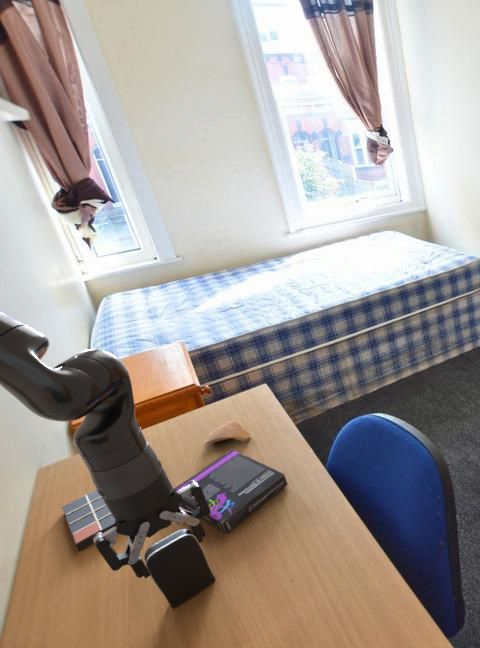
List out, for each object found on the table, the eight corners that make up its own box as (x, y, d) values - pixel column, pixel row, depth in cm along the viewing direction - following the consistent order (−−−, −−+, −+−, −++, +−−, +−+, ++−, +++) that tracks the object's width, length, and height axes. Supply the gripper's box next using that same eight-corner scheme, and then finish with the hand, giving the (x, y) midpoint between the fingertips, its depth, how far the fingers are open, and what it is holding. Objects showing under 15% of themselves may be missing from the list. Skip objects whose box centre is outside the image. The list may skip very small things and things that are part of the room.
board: (79, 550, 89) (75, 544, 88) (65, 512, 99) (61, 506, 98) (174, 497, 100) (171, 491, 99) (153, 467, 109) (150, 461, 109)
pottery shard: (251, 440, 115) (248, 432, 114) (209, 456, 111) (205, 448, 110) (248, 420, 124) (245, 412, 123) (208, 434, 119) (204, 426, 118)
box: (174, 503, 98) (226, 536, 89) (167, 491, 97) (219, 522, 87) (237, 460, 109) (289, 485, 99) (232, 448, 108) (284, 472, 98)
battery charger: (212, 568, 82) (188, 520, 78) (218, 581, 80) (194, 532, 75) (166, 597, 78) (137, 548, 73) (171, 612, 75) (142, 562, 71)
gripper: (178, 442, 76) (213, 516, 83) (64, 498, 67) (114, 577, 73) (193, 460, 72) (229, 537, 78) (74, 523, 62) (126, 605, 68)
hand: (174, 556), depth 76 cm, fingers closed on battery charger, 7 cm apart
